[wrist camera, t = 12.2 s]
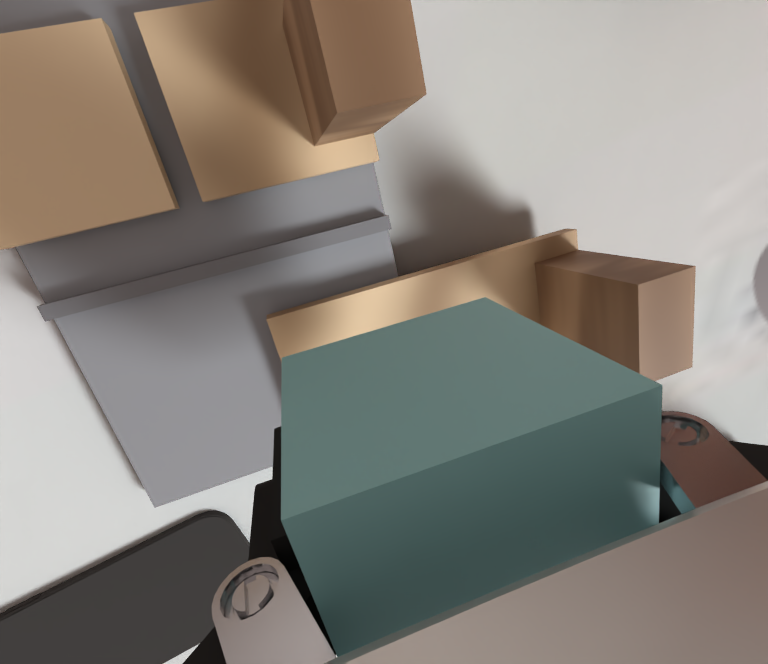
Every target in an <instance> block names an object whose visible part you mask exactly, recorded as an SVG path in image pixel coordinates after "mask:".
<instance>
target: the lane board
mask: <svg viewBox="0 0 768 664" xmlns="http://www.w3.org/2000/svg"><path fill="white" fill-rule="evenodd" d="M206 1H213V0H0V250H2V249H9V248H14V247H15V248H16V250H17V251H18V253H19V255H20V257H21V259H22V261H23V263H24V264H25V266H26V268H27V270H28V272H29V274H30V276H31V278H32V279H33V281H34V283H35V285H36V287H37V289H38V291H39V292H40V294H41V296H42V298H43V300H44V302H45V304H42V305H40V306H37V308H38V309H39V311H40V313H41V315H42V317H43V319H44V320H45V321H49V320H52V319H54V320H55V322H56V324H57V326H58V328H59V330H60V332H61V334H62V335H63V337H64V339H65V341H66V343H67V345H68V347H69V349H70V350H71V352H72V354H73V356H74V358H75V360H76V362H77V363H78V365H79V367H80V369H81V371H82V373H83V375H84V377H85V378H86V380H87V382H88V384H89V386H90V388H91V390H92V391H93V393H94V395H95V397H96V399H97V401H98V403H99V405H100V406H101V408H102V410H103V412H104V414H105V416H106V418H107V419H108V421H109V423H110V425H111V427H112V429H113V431H114V433H115V434H116V436H117V438H118V440H119V442H120V444H121V446H122V447H123V449H124V451H125V453H126V455H127V457H128V459H129V461H130V462H131V464H132V466H133V468H134V470H135V472H136V474H137V475H138V477H139V479H140V481H141V483H142V485H143V487H144V489H145V490H146V492H147V494H148V496H149V498H150V500H151V502H152V503H153V505H154V507H158V506H161V505H164V504H166V503H169V502H172V501H175V500H178V499H181V498H184V497H186V496H189V495H192V494H195V493H198V492H201V491H203V490H206V489H209V488H212V487H215V486H218V485H221V484H223V483H226V482H229V481H232V480H235V479H238V478H240V477H243V476H246V475H249V474H252V473H255V472H258V471H260V470H263V469H266V468H269V467H272V466H273V448H274V429H275V428H277V427H280V426H281V378H282V363H281V360H280V357H279V354H278V351H277V348H276V345H275V343H274V340H273V337H272V334H271V331H270V328H269V325H268V322H267V320H266V319H267V315H268V314H271V313H275V312H278V311H282V310H285V309H289V308H292V307H296V306H299V305H303V304H306V303H310V302H313V301H317V300H320V299H323V298H327V297H330V296H334V295H337V294H341V293H344V292H348V291H351V290H355V289H358V288H362V287H365V286H369V285H372V284H375V283H379V282H382V281H386V280H389V279H393V278H396V277H398V272H397V268H396V263H395V259H394V254H393V250H392V245H391V241H390V236H389V232H388V230H390V229H391V225H390V221H389V216H388V215H385V213H384V209H383V204H382V200H381V195H380V191H379V186H378V182H377V177H376V173H375V168H374V164H373V163H369V164H365V165H361V166H356V167H352V168H348V169H344V170H339V171H335V172H331V173H327V174H323V175H318V176H314V177H310V178H306V179H301V180H297V181H293V182H289V183H284V184H280V185H276V186H272V187H268V188H263V189H259V190H255V191H251V192H246V193H242V194H238V195H234V196H229V197H225V198H221V199H217V200H213V201H208V202H203V201H202V199H201V196H200V193H199V190H198V188H197V185H196V182H195V179H194V177H193V174H192V171H191V168H190V166H189V163H188V160H187V157H186V155H185V152H184V149H183V147H182V144H181V141H180V138H179V136H178V133H177V130H176V127H175V125H174V122H173V119H172V116H171V114H170V111H169V108H168V105H167V103H166V100H165V97H164V95H163V92H162V89H161V86H160V84H159V81H158V78H157V75H156V73H155V70H154V67H153V64H152V62H151V59H150V56H149V53H148V51H147V48H146V45H145V42H144V40H143V37H142V34H141V32H140V29H139V26H138V23H137V21H136V18H135V15H134V13H136V12H142V11H149V10H155V9H161V8H168V7H174V6H181V5H187V4H193V3H200V2H206Z"/></svg>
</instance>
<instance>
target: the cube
mask: <svg viewBox="0 0 768 664" xmlns="http://www.w3.org/2000/svg"><path fill="white" fill-rule="evenodd" d="M661 415H662V385H661V384H659V383H657V382H655V381H653V380H651V379H649V378H647V377H645V376H643V375H641V374H639V373H637V372H635V371H633V370H631V369H629V368H627V367H625V366H623V365H621V364H619V363H617V362H615V361H613V360H611V359H609V358H607V357H605V356H603V355H601V354H599V353H597V352H595V351H593V350H591V349H589V348H587V347H585V346H583V345H581V344H579V343H576V342H574V341H572V340H570V339H568V338H566V337H564V336H562V335H560V334H558V333H556V332H554V331H552V330H550V329H548V328H546V327H544V326H542V325H540V324H538V323H536V322H534V321H532V320H530V319H528V318H526V317H524V316H522V315H520V314H518V313H516V312H514V311H512V310H510V309H508V308H506V307H504V306H502V305H500V304H498V303H496V302H494V301H492V300H490V299H488V298H486V297H484V298H480V299H477V300H474V301H470V302H467V303H463V304H460V305H457V306H453V307H450V308H447V309H443V310H440V311H437V312H433V313H430V314H427V315H423V316H420V317H417V318H413V319H410V320H406V321H403V322H400V323H396V324H393V325H390V326H386V327H383V328H380V329H376V330H373V331H370V332H366V333H363V334H359V335H356V336H353V337H349V338H346V339H343V340H339V341H336V342H333V343H329V344H326V345H323V346H319V347H316V348H313V349H309V350H306V351H302V352H299V353H296V354H292V355H289V356H286V357H282V378H281V522H282V524H283V527H284V529H285V531H286V534H287V536H288V539H289V541H290V543H291V546H292V548H293V551H294V553H295V556H296V558H297V560H298V563H299V565H300V568H301V570H302V572H303V575H304V577H305V580H306V582H307V584H308V587H309V589H310V592H311V594H312V597H313V599H314V601H315V604H316V606H317V609H318V611H319V613H320V616H321V618H322V621H323V623H324V626H325V628H326V630H327V633H328V635H329V638H330V640H331V642H332V645H333V647H334V650H335V652H336V654H337V657H339V656H342V655H344V654H346V653H348V652H351V651H353V650H355V649H357V648H360V647H362V646H364V645H367V644H369V643H371V642H373V641H376V640H378V639H380V638H383V637H385V636H387V635H390V634H392V633H395V632H397V631H399V630H402V629H404V628H407V627H409V626H411V625H414V624H416V623H419V622H421V621H423V620H426V619H428V618H430V617H433V616H435V615H438V614H440V613H442V612H445V611H447V610H450V609H452V608H454V607H457V606H459V605H462V604H464V603H466V602H469V601H471V600H473V599H476V598H478V597H481V596H483V595H485V594H488V593H490V592H493V591H495V590H497V589H500V588H502V587H505V586H507V585H510V584H512V583H514V582H517V581H519V580H522V579H524V578H527V577H529V576H531V575H534V574H536V573H539V572H541V571H544V570H546V569H548V568H551V567H553V566H556V565H558V564H561V563H563V562H565V561H568V560H570V559H573V558H575V557H578V556H580V555H583V554H585V553H587V552H590V551H592V550H595V549H597V548H600V547H602V546H605V545H607V544H609V543H612V542H614V541H617V540H619V539H622V538H624V537H627V536H629V535H632V534H634V533H637V532H639V531H642V530H644V529H646V528H649V527H651V526H654V525H656V524H659V496H660V456H661Z"/></svg>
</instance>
